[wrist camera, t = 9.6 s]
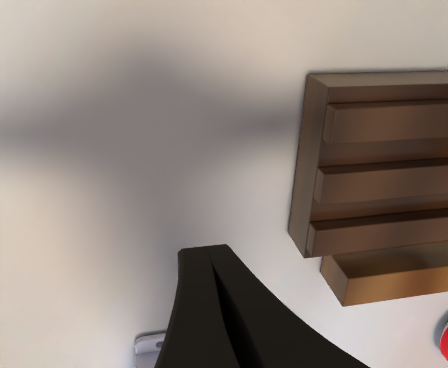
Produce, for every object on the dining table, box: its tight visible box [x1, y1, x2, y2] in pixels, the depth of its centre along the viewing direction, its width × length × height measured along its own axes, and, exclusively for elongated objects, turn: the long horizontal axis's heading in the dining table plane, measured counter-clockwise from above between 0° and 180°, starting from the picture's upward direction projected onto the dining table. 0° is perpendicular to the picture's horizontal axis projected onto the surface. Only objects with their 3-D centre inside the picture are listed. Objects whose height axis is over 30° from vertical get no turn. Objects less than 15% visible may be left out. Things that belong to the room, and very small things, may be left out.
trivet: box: [288, 71, 448, 258], centre depth 21 cm, size 9×9×3 cm
